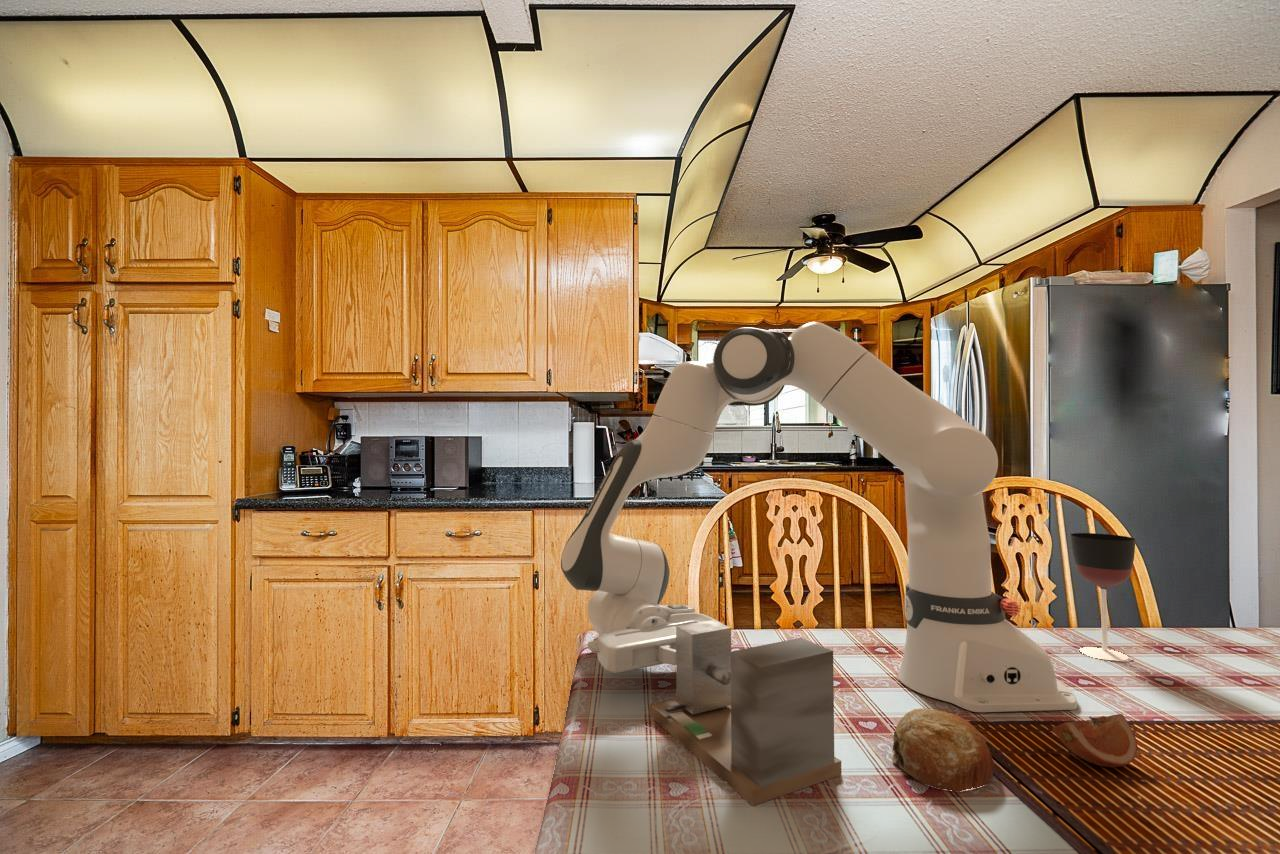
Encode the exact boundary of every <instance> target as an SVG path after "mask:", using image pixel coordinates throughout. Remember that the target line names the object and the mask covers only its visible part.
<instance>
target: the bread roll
mask: <svg viewBox="0 0 1280 854" xmlns="http://www.w3.org/2000/svg"><path fill="white" fill-rule="evenodd" d="M990 748H991V746H990V744H989V742H988V741H987V740H985V739H984V738H983V736H982V735H981V733H980V732H979V731H978V730H977V728H976V727H975V726H974V725H973V724H971V723H970V722H969V721H968V720H966V719H965V718H964V717H961V716H958V715H956V714H954V713H952V712H947V711H940V710H939V709H938V710H937V709H934V708H933V709H930V708H915V709H912V710H910V711H907V713H905V714H904V715H903V717H901V719H900V720H899V722H898V723H897V724H896V727H895V730H894V732H893V745H892V752H893V756H892V759H891V760H892V762H893V763H894V764H895V765H897V766H898V767H899V768H900V769H901V770H902V771H903V772H904V773H906V774H907V775H909V776H911V777H912V778H913V779H915V780H916V781H917V780H918V781H920V782H922V783H924V784H927V785H930V786H933V787H936V788H940V789H947V790H952V791H962V790H966V789H971V788H972V787H973V788H977V787H980V786H983V785H986V784H987V785H989V784H988V783H989V782H990V780H992V777H993V772H994V769H995V762H994V759H993V756H992V750H991V749H990ZM918 781H917V782H918ZM920 782H919V783H920ZM922 783H921V784H922ZM924 784H923V785H924ZM987 785H986V786H987Z"/></svg>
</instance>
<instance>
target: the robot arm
mask: <svg viewBox="0 0 1280 854" xmlns="http://www.w3.org/2000/svg"><path fill="white" fill-rule="evenodd" d="M712 358H713V359H712V362H709V363H706V362H702V361H697V360H689V361H683V362H681V363H679V364H677V365H676V366H675V367H674V368H673V370H672V371H671V373H670V375H669V376H668V378H667V380H666V382H665V384H664V386H663V387H662V390H661V392H660V394H659V397H658V399H657V400H656V403H655V407H654V409H653V413H652V415H651V418H650V421H649V422H648V424H647V426H646V427H645V429H644V430H643V431H642V432H641V434H639V436H638V437H636V438H635V439H632V440H628V441H627V442H625V443H624V444H623V446H622V447H621V448H620V450H619V451H618V453H617V454H616V456H615V457H614V459H613V461H612V462H611V464H610V466H609V467H608V470H607V471H606V473H605V474H604V477H603V479H602V480H601V482H600V485H599V486H598V488H597V490H596V491H595V494H594V497H592V500H591V502H590V503H589V505H588V508H587V509H586V511H585V513H584V515H583V516H582V519H581V520H580V522H579V524H578V525H577V527H576V528H574V531H573V532H572V534H571V535H570V537H569V538H568V540H567V542H566V543H565V545H564V548H563V549H562V554H561V559H560V568H561V571H562V573H563V575H564V577H565V579H566V580H567V581H568V583H569V585H571V586H572V587H573V588H574V590H577V591H589V592H591V591H592V592H594V593H593V594H592V595H591V597H590V598H589V600H588V603H587V615H588V620H589V622H590V624H591V626H592V628H593V630H595V632H596V633H597V634H598V635H597V637H595V638H594V639H592V641H588V642H587V649H588V650H589V651H591V653H593V654H597V660H598V662H599V663H600V665H601V666H602V668H603V669H604V670H605V671H606V672H609V673H612V674H619V673H623V672H624V673H625V672H629V671H632V670H633V671H634V670H638V669H639V670H640V669H643V668H648V667H649V668H650V667H655V666H659V665H663V664H665V665H666V664H667V665H670V666H671V665H673V666H676V626H679V625H685V624H691V623H698V622H704V621H710V620H715V621H717V622H720V623H722V624H724V623H723V622H721V621H719V620H717V619H715V618H713V617H711V616H709V615H706V614H704V613H700V612H696V610H695V607H693V606H691V605H684V604H683V605H681V604H680V605H679V604H677V605H676V604H675V605H672V604H671V605H668V604H667V605H666V604H661V602H662V600H663V599H664V597H665V594H666V591H667V589H668V586H669V581H670V566H669V562H668V559H667V558H668V557H667V555H666V553H665V551H664V550H663V548H662V547H661V546H660V545H659V544H658V543H657V542H651V541H647V540H644V539H638V538H634V537H626V536H625V535H624V536H623V535H619V534H614V533H611V531H612V527H613V526H614V524H615V522H616V520H617V518H618V516H619V515H620V512H621V511H622V508H623V507H624V505H625V503H626V500H627V499H628V497H629V495H630V493H631V492H632V491H633V490H634V489H635V488H637V486H639V485H641V484H642V483H645V482H647V481H651V480H656V479H661V478H662V479H663V478H671V477H678V476H681V475H684V474H687V473H689V472H691V471H693V470H695V469H696V468H698V467H699V466H700V465H701V464H702V463H703V461H704V459H705V458H706V456H707V453H708V452H709V449H710V447H711V444H712V440H713V437H714V434H715V432H716V428H717V425H718V422H719V420H720V418H721V417H720V416H721V415H722V413H723V411H724V409H725V408H726V407H727V406H750V407H751V406H752V407H754V406H755V407H756V406H763V405H765V404H768V403H770V402H772V401H774V400H775V399H776V398H778V396H779V395H780V394H781V393H782V392H783V389H784V388H785V386H791V387H796V388H798V389H800V390H802V391H803V392H805V393H806V394H808V395H809V396H810V397H811V398H812V399H814V400H815V401H816V402H817V403H818V404H819V405H820V406H822V407H823V408H824V409H826V410H827V411H828V412H829V413H830V414H832V416H834V417H835V418H836V419H837V420H839V421H840V422H841V423H842V424H843V425H845V426H846V427H847V428H848V429H850V430H851V431H852V432H853V433H854V434H856V435H857V436H858V437H859V438H860V439H861V440H863V441H864V442H865V443H867V444H868V445H869V446H870V447H872V448H873V449H875V451H877V452H878V453H879V454H880V455H881V456H883V457H884V458H885V459H886V460H888V461H889V462H890V463H892V464H893V466H895V467H896V468H897V469H899V470H900V471H901V472H903V482H904V502H905V517H906V528H907V529H906V530H907V567H908V568H907V570H908V571H907V573H908V576H907V577H908V583H907V584H905V593H904V594H905V595H904V616H905V622H906V623H907V624H906V625H907V626H906V628H907V629H906V638H905V645H904V650H903V656H902V661H901V664H900V668H899V670H898V675H897V678H898V679H899V681H900V682H901V683H902V684H903V685H904V686H906V687H907V688H909V689H911V690H913V691H914V692H917V693H919V694H922V695H924V696H927V697H930V698H933V699H937V700H940V701H943V702H947V703H950V704H953V705H954V706H955V705H956V706H958V707H960V708H962V709H965V710H967V711H969V712H974V713H994V712H996V713H999V712H1033V711H1063V710H1064V711H1067V710H1068V711H1069V710H1077V708H1078V702H1077V701H1078V700H1077V697H1076V695H1075V693H1073V691H1072V690H1071V689H1069V687H1068V686H1066V685H1065V684H1064V683H1062V682H1061V681H1059V680H1058V679H1057V677H1056V672H1055V668H1054V665H1053V662H1052V659H1051V657H1050V656H1049V655H1050V654H1048V653H1047V651H1046V650H1045V649H1044V648H1043V647H1042V646H1041V645H1040V644H1039V643H1037V642H1036V641H1034V640H1033V639H1032V638H1031V637H1030V636H1028V635H1027V634H1026V633H1025V632H1024V631H1022V630H1021V629H1020V628H1018V627H1016V625H1014V624H1012V623H1011V622H1010V621H1008V619H1006V614H1008V615H1009V616H1010V617H1011V616H1012V617H1015V616H1018V615H1019V614H1020V613H1021V605H1020V604H1019V603H1018V602H1016V601H1014V600H1013V599H1011V598H1003V597H1002V596H1000V595H998V594H997V593H996V592H993V591H992V572H991V571H992V562H991V561H992V560H991V559H992V558H991V556H992V555H991V537H990V532H989V528H988V523H987V515H986V510H985V503H984V495H983V492H984V491H985V490H986V489H987V488H989V487H990V485H991V484H992V483H993V481H994V479H995V478H996V475H997V473H998V468H999V457H998V452H997V449H996V448H995V446H994V444H993V442H992V440H990V439H989V437H987V435H985V434H984V432H982V431H981V430H979V429H978V428H976V427H975V426H974V425H973V424H971V423H970V422H968V421H967V420H966V419H964V418H963V417H961V416H960V415H958V414H957V413H956V412H954V411H953V410H951V409H949V408H948V407H947V406H945V405H944V404H943V403H941V402H940V401H938V400H936V399H935V398H933V397H932V396H930V395H928V394H927V393H926V392H924V391H922V390H921V389H920V388H918V387H916V386H915V385H913V384H912V383H911V382H909V381H908V380H907V379H905V378H903V376H902V375H901V374H899V373H897V372H896V371H895V370H893V369H892V368H891V367H889V366H888V365H887V364H886V363H884V361H882V360H880V358H878V357H877V356H875V355H874V354H873V353H872V352H871V351H869V350H867V349H866V348H865V347H863V346H862V345H861V344H860V343H858V342H857V341H855V340H854V339H852V338H851V337H849V336H848V335H846V334H844V333H842V332H840V331H838V330H837V329H835V328H833V327H831V326H829V325H827V324H825V323H823V322H819V321H811V322H808V323H804V324H802V325H800V326H799V327H797V328H796V329H795V330H794V331H793V332H792V333H790V334H789V336H788V335H786V333H784V332H781V331H775V330H768V329H763V328H760V327H758V328H757V327H750V326H748V327H747V326H746V327H745V326H744V327H739V328H737V329H733V330H731V331H729V332H728V333H726V334H725V335H724V336H723V337H722V338H720V340H719V342H718V343H717V345H716V348H715V350H714V353H713V357H712Z"/></svg>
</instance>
